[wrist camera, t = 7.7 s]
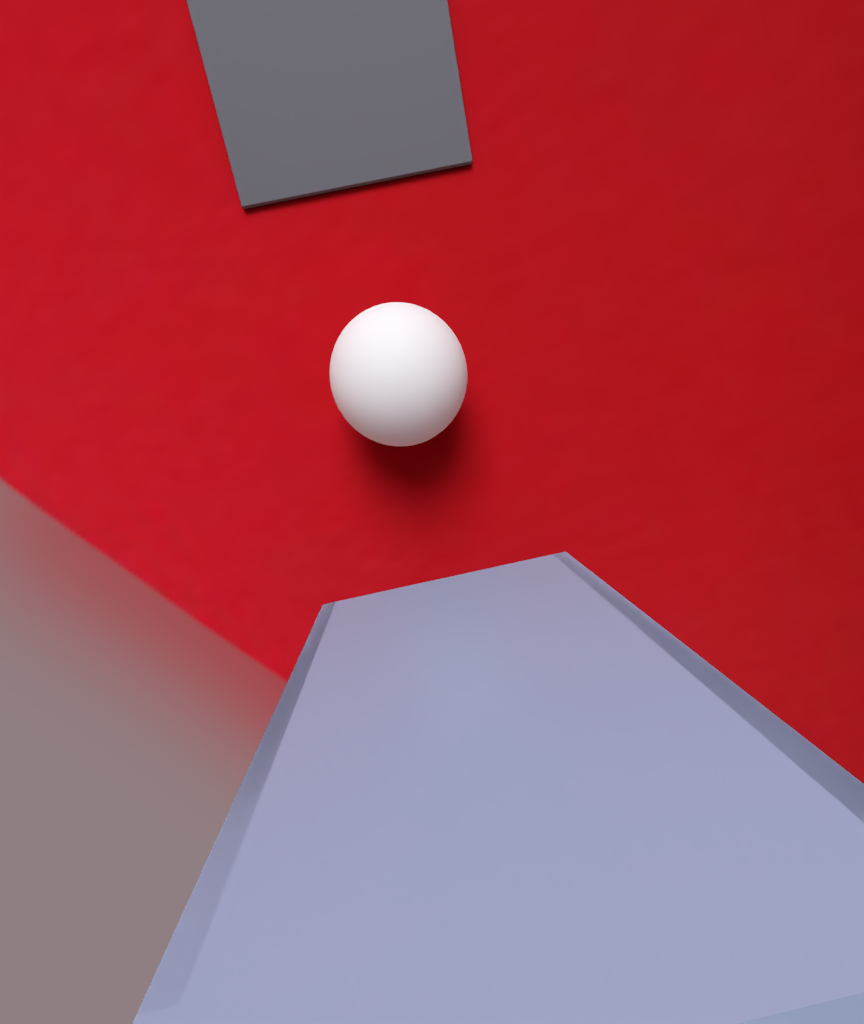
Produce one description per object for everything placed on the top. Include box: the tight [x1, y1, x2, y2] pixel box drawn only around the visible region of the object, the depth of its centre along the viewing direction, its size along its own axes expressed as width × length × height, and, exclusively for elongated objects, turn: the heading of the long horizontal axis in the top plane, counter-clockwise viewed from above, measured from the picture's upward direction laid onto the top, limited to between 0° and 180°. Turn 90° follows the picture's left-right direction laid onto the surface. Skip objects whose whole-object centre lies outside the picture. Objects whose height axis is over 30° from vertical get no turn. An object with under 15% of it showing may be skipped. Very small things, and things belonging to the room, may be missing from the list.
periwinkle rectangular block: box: [133, 552, 864, 1024], centre depth 8 cm, size 10×7×9 cm
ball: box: [330, 302, 467, 446], centre depth 15 cm, size 5×5×5 cm
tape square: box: [187, 0, 472, 209], centre depth 15 cm, size 9×9×1 cm
